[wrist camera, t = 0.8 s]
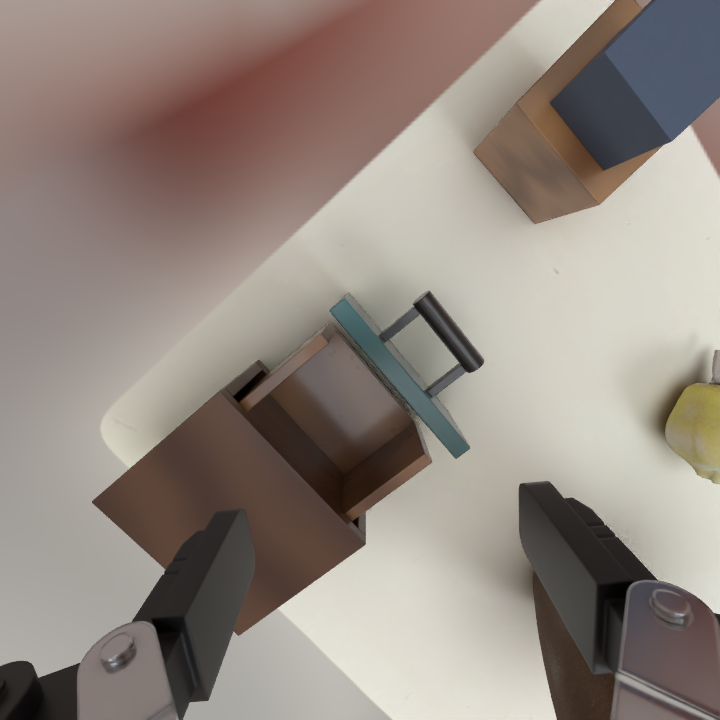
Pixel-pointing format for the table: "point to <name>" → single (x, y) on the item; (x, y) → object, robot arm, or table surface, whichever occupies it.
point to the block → (646, 81)
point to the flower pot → (569, 667)
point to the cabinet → (234, 500)
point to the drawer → (360, 405)
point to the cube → (556, 136)
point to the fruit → (698, 425)
